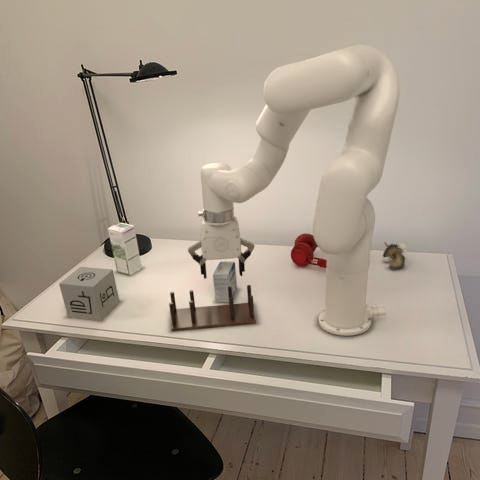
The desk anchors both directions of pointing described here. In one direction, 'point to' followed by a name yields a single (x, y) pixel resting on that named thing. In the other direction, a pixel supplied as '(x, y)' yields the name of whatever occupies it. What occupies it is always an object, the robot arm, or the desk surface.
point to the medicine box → (224, 280)
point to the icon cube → (89, 293)
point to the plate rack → (212, 314)
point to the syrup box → (125, 248)
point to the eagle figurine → (395, 255)
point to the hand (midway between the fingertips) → (223, 275)
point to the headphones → (306, 251)
